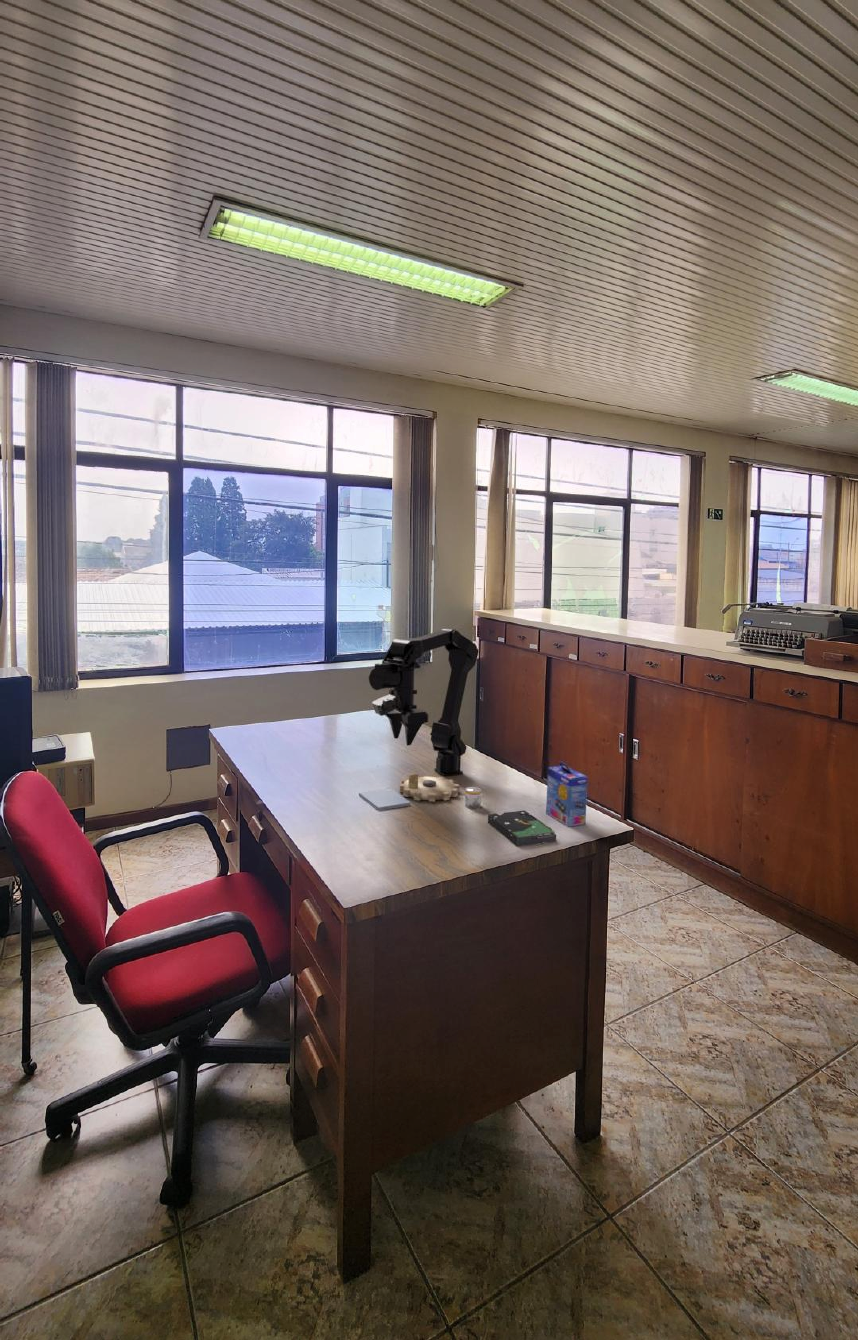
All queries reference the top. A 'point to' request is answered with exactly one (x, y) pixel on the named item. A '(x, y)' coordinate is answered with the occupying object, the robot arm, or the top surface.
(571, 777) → the ink cartridge box
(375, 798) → the slate pad
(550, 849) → the top surface
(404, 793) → the sprocket wheel
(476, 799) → the small glass jar
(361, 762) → the top surface
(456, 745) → the robot arm
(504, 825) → the disk drive
